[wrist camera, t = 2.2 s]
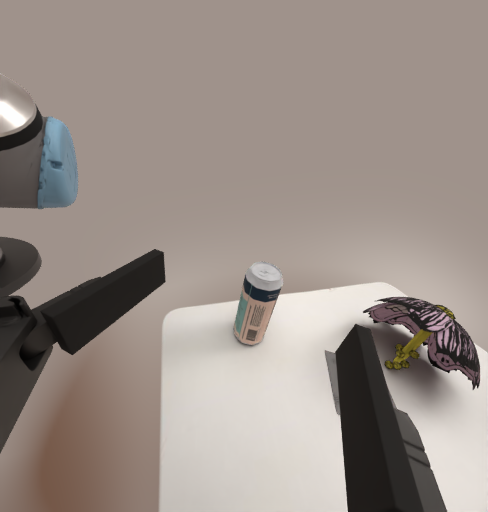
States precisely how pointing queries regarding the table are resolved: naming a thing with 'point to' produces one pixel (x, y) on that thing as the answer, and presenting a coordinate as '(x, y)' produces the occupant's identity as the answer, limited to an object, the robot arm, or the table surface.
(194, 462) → the table surface
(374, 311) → the decorative flower
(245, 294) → the beer can
